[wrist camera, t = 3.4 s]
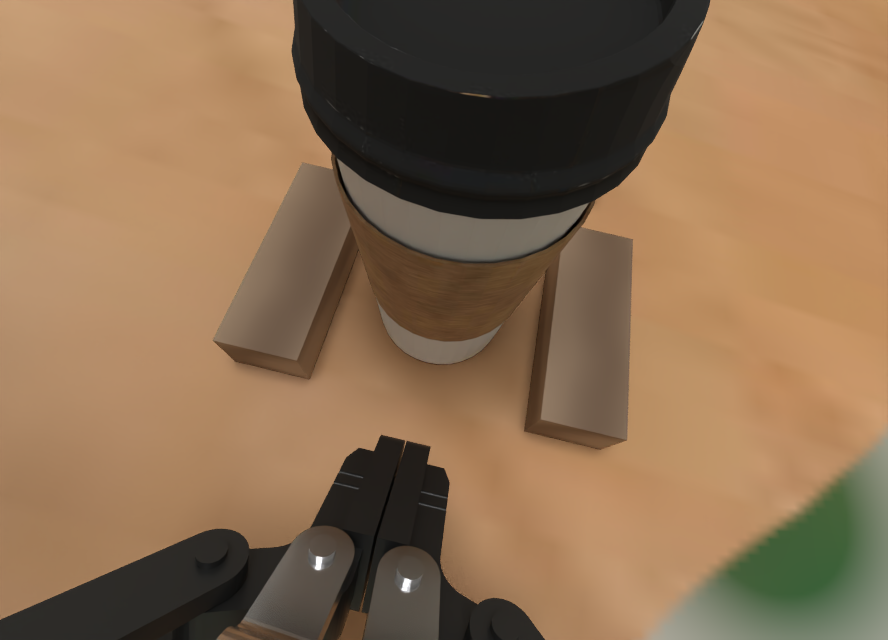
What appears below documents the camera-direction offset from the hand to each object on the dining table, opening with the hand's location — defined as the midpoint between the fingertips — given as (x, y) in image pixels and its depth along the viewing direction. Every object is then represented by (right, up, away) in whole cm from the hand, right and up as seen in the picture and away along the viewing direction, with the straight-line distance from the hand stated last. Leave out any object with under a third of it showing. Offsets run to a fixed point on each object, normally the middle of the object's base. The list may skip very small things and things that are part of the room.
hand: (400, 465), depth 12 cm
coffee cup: (+1, +5, +9) cm, 10 cm away
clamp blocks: (+1, +5, +9) cm, 10 cm away
